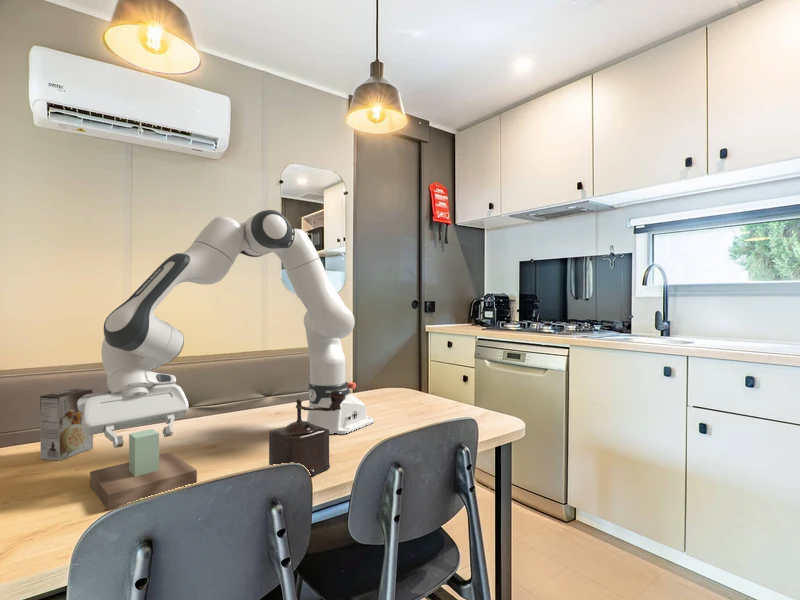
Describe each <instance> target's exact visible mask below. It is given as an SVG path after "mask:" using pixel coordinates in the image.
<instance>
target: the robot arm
mask: <svg viewBox="0 0 800 600" xmlns="http://www.w3.org/2000/svg"><path fill="white" fill-rule="evenodd" d="M270 253H274V255H276V256H277V257H278V258H279V259H280V261H281V263H282V265H283V268H284V270H285V272H286V275H287V278H288V279H289V282H290V284H291V286H292V288H293V291H294V293H295V294H296V296H297V297H298V299H299V300H300V302H301V303H302V304H303V306H304V308H305V309H306V310H307V311H305V313H304V316H303V325H304V328H305V334H306V343H307V347H308V355H309V383H308V401H309V403H308V407H324V408H330V407H329V406H330V405H331V403H332V402H331V399H330V397H329V396H330V393H331V391H334V390H340V391H342V392H344V393H345V396H346V397H345V400H344V401H343V402H342V403H341V404H340V407H341V410H336V411H319V410H307V411H308V413H307V418H306V422H309V423H311V424H313V425H316V426H319V427H323V428H326V429H328V430H329V435H333V434H334V433H337V434H338V435H347V434H346V433H348V434H350V433H352V432H355V431H357V430H360V429H362V428H365V427H366V425H367V426H369V425H371V423H372V424H374V423H373V422H375V421H374V418H373V417H371V416H369V415H368V414H367V413H368V412H367V408H366V405H365V402H364V401H361V399H359V397H358V398H357V397H356V396H355V395H353V393H351V391H350V389H352V390H355V389H356V387H357V384H356V383H355V382H351V381H350V382H347V381H346V355H345V353H344V351H343V347H342V341H341V339H344V338H346V337H348V336H349V335H350V334H351V333H352V331H353V330H354V328H355V322H356V321H355V316H354V314H353V312H352V311H351V310H350V309H349V308H348V307H347V305H346V304H345V303H344V300H343V299H342V298H341V296H340V295H339V293H338V291H337V290H336V289H335V286H333V284H332V282H331V280H330V278H329V276H328V274H327V272H326V269H325V267H324V264H323V262H322V260H321V257H320V255H319V253H318V251H317V249H316V248H315V246H314V244H313V242H312V240H311V238H310V237H309V236H308V234H307V233H306V232H305V231H304V230H303V229H299V228H295V227H294V226H293V225H292V224H291V223H290V221H289V220H288V219H287V217H285V215H284V214H282V213H281V212H279V211H277V210H274V209H266V210H260V211H259V212H257V213H256V214H254V215H252V216H250V217H249V218H247V220H245V221H244V222H238V221H237V220H235V219H233V218H231V217H228V216H224V215H223V216H222V215H220V216H217V217H214V218H213V219H212V220H210V221H209V223H208V224H207V225H206V226H204V228H203V229H202V230H201V231H200V232H199V234H198V235H197V236H196V238H195V239H194V241H193V243H191V245H190V246H189V247H188V248H187V249H185V251H183V252H182V253H181V252H179V253H175V254H172V255H171V256H169V257H167V258H166V259H165V260H164V261H163V262H162V263H161V264H160V265H159V266H158V267H157V268H156V269H155V270H154V271H153V272H152V273H151V274H150V275H149V277H147V278H146V279H145V281H143V282H142V284H141V285H140V286H139V287H138V288H137V289H136V290H135V291H134V292H133V293H132V294H131V296H129V298H128V299H127V300H125V301H124V302H123V303H121V304H120V305H119V306H117V307H116V308H115V309H114V310H112V312H110V313H109V315H108V316H107V317H106V319H105V321H104V323H103V336H104V338H103V341H102V345H101V352H100V353H101V361H102V367H103V370H104V371H103V372H105V373H106V376H107V378H106V385H107V390H108V391H101V392H97V393H92V394H86V395H85V396H84V397H81V398H80V399H79V400H78V401H77V407H78V410H79V412H81V413H82V432H83V433H84V434H86V435H93V436H95V435H97V434H104V437H105V438H106V439H107V440H109V441H110V442H112V446H113V449H118V448H122V447H123V446H124V439H123V438H124V437H123V435H117V434H116V433H115V431H119V430H120V431H121V430H124V429H129V428H135V427H141V426H146V425H151V424H157V423H163V422H165V424H166V425H167V426H164V427H163V430H162V434H163V437H164V438H168V437H172V436H173V433H174V430H173V427H172V426H173V423H174V421H175V420H176V419H182V418H184V417H185V416H186V415H187V413H188V411H189V408H190V406H189V401H188V398H187V397H186V394H185V392H184V390H183V389H182V387H181V386H180V385H178V384H176V383H177V377H176V376H175V375H173V374H168V373H159V372H154V371H151V370H155V369H157V368H159V367H163V366H164V365H166V364H168V363H170V362H172V361H173V360H175V359H176V358H177V357H178V356H179V355H180V353H181V352H182V350H183V348H184V345H185V344H184V343H185V338H184V333H183V332H182V331H181V330H179V329H178V328H176V327H175V326H173V325H172V324H170V323H168V322H166V321H164V320H162V319H160V318H159V317H158V316H156V315H155V314H154V313H155V310H156V309H157V307H159V305H160V304H161V303H162V302H163V300H164V299H165V298H166V297H167V296H168V295H169V294H170V293H171V291H172V290H173V289H174V288H175V287H177V286H178V285H179V284H182V283H186V282H187V283H193V284H197V285H198V284H199V285H203V286H205V285H206V286H207V285H214V284H216V283H219V282H221V281H222V280H223V279H224V278H225V277H226V275H227V274H228V273H229V272H230V270H231V268H232V266H233V264H234V263H235V261H236V259H237V258H238V256H239V255H241V254H242V255H244V256H247V257H251V258H259V257H262V256H264V255H269V254H270ZM84 398H85V399H84ZM359 428H360V429H359ZM356 429H357V430H356ZM354 430H355V431H354ZM351 431H352V432H351ZM349 432H350V433H349ZM337 434H336V435H337ZM334 435H335V434H334Z"/></svg>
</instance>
